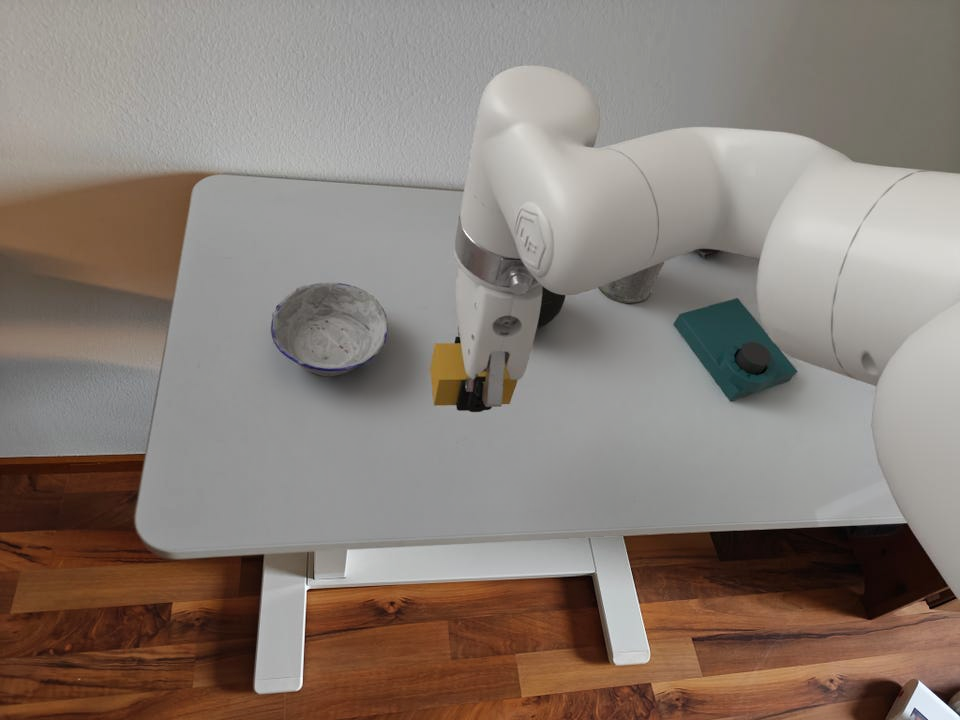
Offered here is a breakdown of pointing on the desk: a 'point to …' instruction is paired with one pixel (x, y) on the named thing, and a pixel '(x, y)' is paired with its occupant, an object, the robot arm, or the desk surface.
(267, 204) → the desk surface
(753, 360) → the dark gray cylinder
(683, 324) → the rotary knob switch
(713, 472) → the desk surface
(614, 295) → the spray can
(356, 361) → the bowl
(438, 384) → the sponge
